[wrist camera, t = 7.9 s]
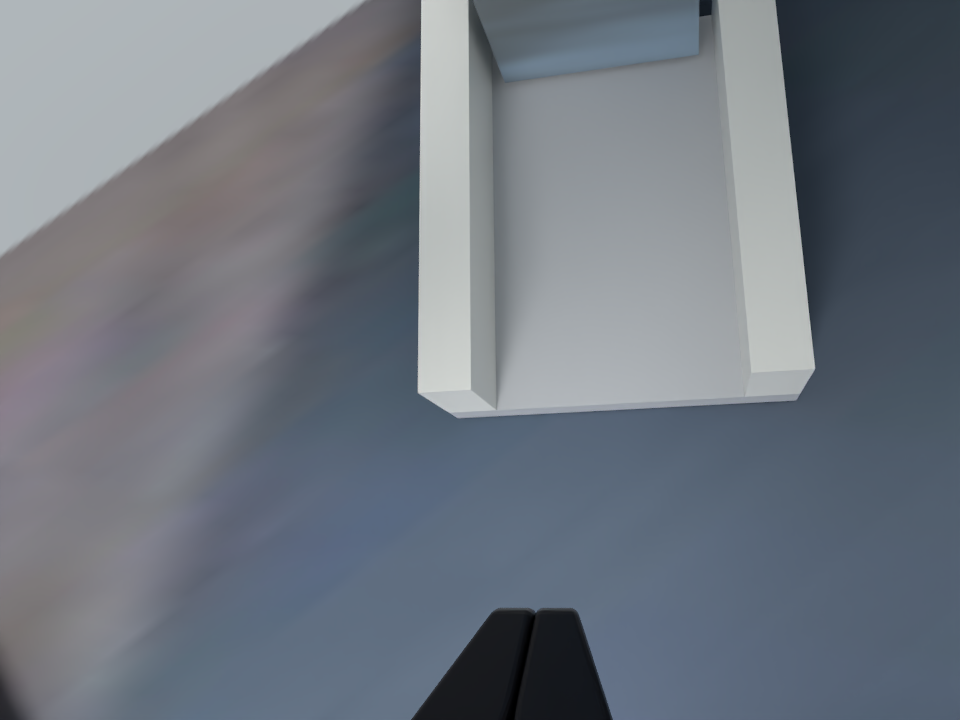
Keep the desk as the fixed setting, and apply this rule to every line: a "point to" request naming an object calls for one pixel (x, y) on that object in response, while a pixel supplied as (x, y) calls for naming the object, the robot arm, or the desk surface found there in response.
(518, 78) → the block
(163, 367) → the desk surface
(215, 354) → the desk surface
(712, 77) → the chute
